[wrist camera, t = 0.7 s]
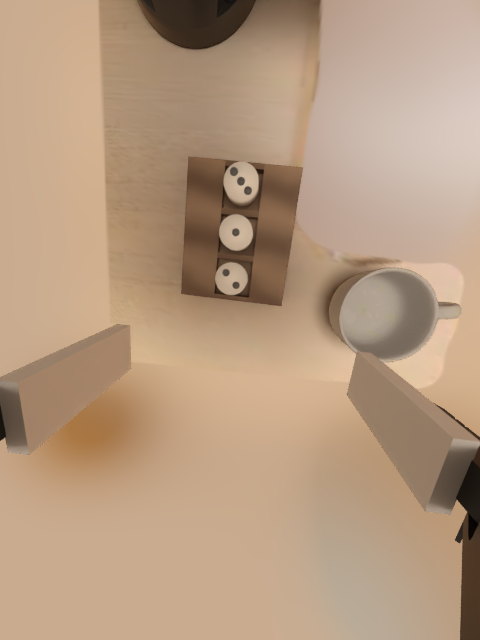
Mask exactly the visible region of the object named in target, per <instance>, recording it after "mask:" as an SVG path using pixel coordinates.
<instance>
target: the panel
mask: <svg viewBox="0 0 480 640" xmlns="http://www.w3.org/2000/svg"><path fill="white" fill-rule="evenodd" d="M236 162H240V161H229V160H219V159H209V158H198V157H189V158H188V177H187V196H186V215H185V233H184V252H183V271H182V290H181V294H186V295H195V296H203V297H211V298H220V299H228V300H236V301H244V302H253V303H261V304H269V305H278V306H282V299H283V293H284V286H285V280H286V273H287V267H288V260H289V254H290V247H291V241H292V234H293V228H294V221H295V215H296V208H297V202H298V195H299V189H300V182H301V176H302V169H303V168H302V167H292V166H281V165H271V164H261V163H250V162H247V163H249V164H251V165H252V166H253V167H254V168H255V169H256V171H257V174H258V178H259V186H258V194H257V197H256V199H255V200H254V201H253V202H252V203H251V204H249V205H247V206H237V205H235V204H233V203H232V202H231V201H230V199H229V198H228V196H227V193H226V191H225V188H224V182H223V181H224V175H225V172H226V170H227V169H228V168H229V167H230V166H231V165H232V164H234V163H236ZM233 214H238V215H242V216H244V217H246V218H247V219H248V220H249V222H250V223H251V226H252V229H253V239H252V242H251V244H250V245H249V247H247V248H246V249H245V250H242V251H233V250H230V249H229V248H227V247H226V246H225V245H224V244H223V243H222V241H221V239H220V236H219V228H220V225H221V223H222V221H223V220H224V219H225V218H226V217H228V216H230V215H233ZM230 262H232V263H237V264H240V265H241V266H243V267H244V268H245V270H246V272H247V274H248V282H247V284H246V286H245V288H244V289H243V290H242V291H241V292H240V293H238V294H236V295H227V294H224V293H223V292H221V291H220V290H219V289H218V287H217V285H216V282H215V275H216V272H217V270H218V269H219V267H221V266H222V265H223V264H225V263H230Z"/></svg>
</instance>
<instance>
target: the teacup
mask: <svg viewBox="0 0 480 640" xmlns="http://www.w3.org/2000/svg"><path fill="white" fill-rule="evenodd" d="M460 314H461V306H460V305H459V304H456V303H449V302H438V301H437V298H436V294H435V292H434V290H433V288H432V287H431V285H430V284H429V283H428V282H427V281H426V280H425V279H424V278H423V277H422V276H420V275H419V274H417V273H415V272H413V271H410V270H406V269H402V268H383V269H379V270H374V271H368V272H364V273H360V274H357V275H355V276H353V277H351V278H349V279H348V280H346V281H345V282H344V283H343V284H341V285H340V286H339V288H338V289H337V290H336V291H335V293H334V295H333V297H332V299H331V302H330V306H329V319H330V323H331V326H332V328H333V330H334V332H335V333H336V335H337V336H338V337H339V338H340V339H341V340H342V341H343V342H344V343H345V344H346V345H348V346H349V348H350V349H351V350H353V351H354V352H355V353H356V354H357V351H359V352H367V353H372V354H373V355H374V356H375V357H377V358H378V359H379V360H380V361H382V362H394V361H398V360H402V359H405V358H407V357H410V356H412V355H413V354H415V353H416V352H417V351H419V350H420V349H421V348H422V347H423V346H424V345H426V343H427V342H428V341H429V339H430V338H431V336H432V334H433V332H434V330H435V327H436V324H437V321H438V319H455V318H458V317H459V316H460Z"/></svg>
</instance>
